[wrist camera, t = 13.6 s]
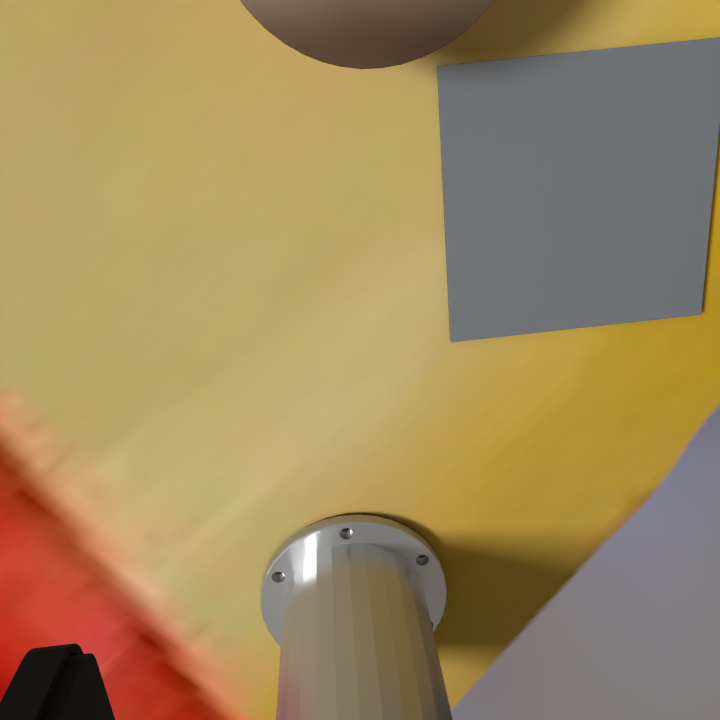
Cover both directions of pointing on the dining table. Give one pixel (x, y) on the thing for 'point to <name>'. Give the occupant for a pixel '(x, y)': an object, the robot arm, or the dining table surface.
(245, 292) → the dining table surface
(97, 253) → the dining table surface
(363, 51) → the lid
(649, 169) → the mat
